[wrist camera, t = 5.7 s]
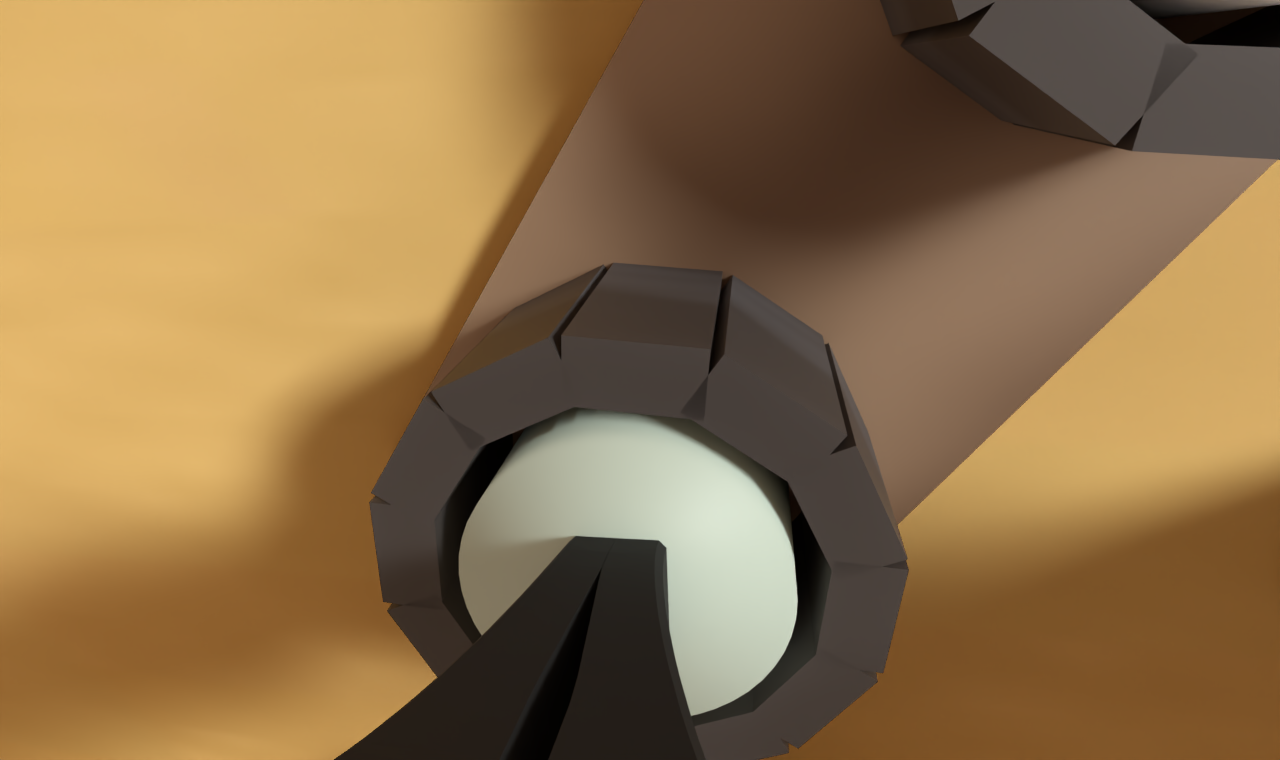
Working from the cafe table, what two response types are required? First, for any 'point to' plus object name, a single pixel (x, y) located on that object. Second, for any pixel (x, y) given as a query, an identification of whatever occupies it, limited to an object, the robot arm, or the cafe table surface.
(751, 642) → the peg sage
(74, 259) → the cafe table surface
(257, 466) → the cafe table surface
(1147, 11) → the peg cream
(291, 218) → the cafe table surface
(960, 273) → the collar board
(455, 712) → the robot arm
